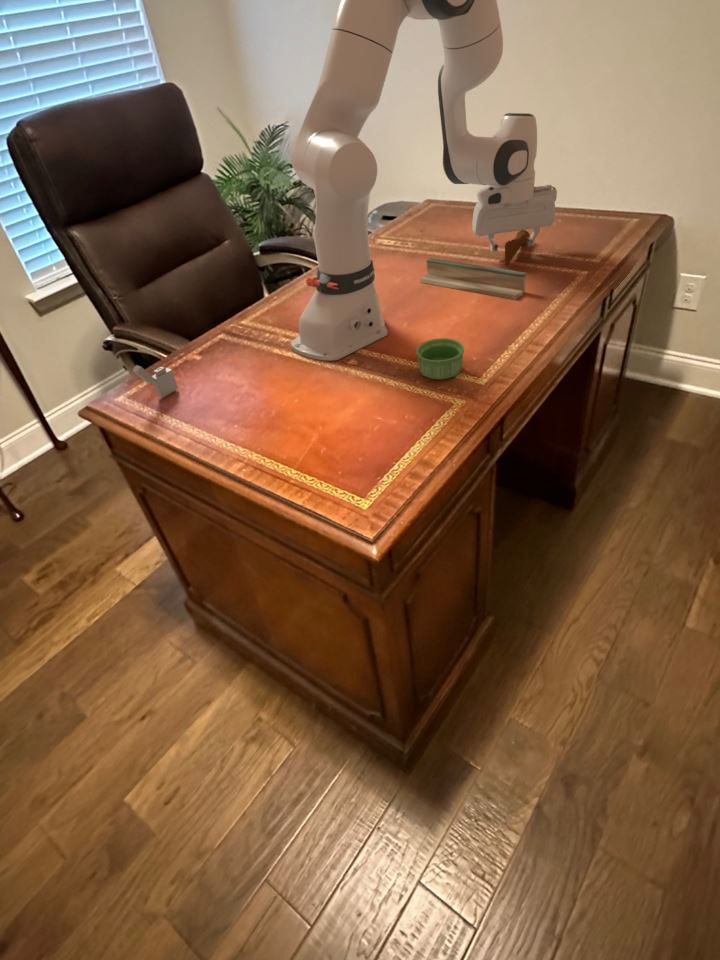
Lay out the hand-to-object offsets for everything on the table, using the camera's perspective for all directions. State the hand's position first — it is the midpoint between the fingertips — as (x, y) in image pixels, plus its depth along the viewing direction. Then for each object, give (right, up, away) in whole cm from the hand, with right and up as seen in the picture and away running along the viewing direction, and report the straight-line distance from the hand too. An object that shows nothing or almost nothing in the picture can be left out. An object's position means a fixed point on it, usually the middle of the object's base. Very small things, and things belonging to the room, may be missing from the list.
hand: (512, 248), depth 150 cm
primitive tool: (0, -5, +2) cm, 5 cm away
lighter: (-79, -43, -32) cm, 95 cm away
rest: (-12, -13, -10) cm, 21 cm away
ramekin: (-23, -38, -37) cm, 58 cm away
